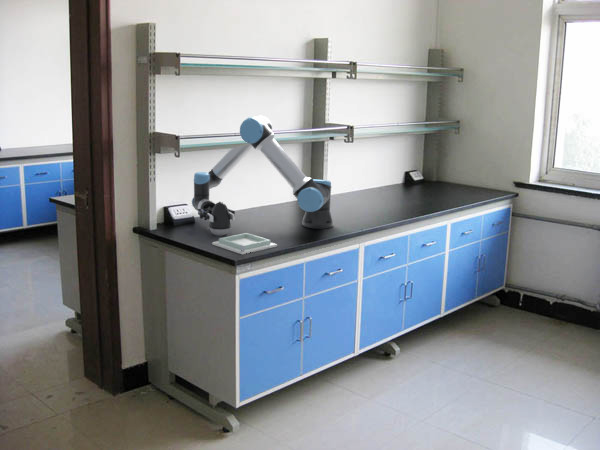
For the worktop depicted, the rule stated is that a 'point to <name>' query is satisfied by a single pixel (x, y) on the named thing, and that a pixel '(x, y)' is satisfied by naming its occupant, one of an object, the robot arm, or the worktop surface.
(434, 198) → the worktop surface
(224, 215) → the dark grey rounded dome
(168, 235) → the worktop surface
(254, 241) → the square tray
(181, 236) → the worktop surface
